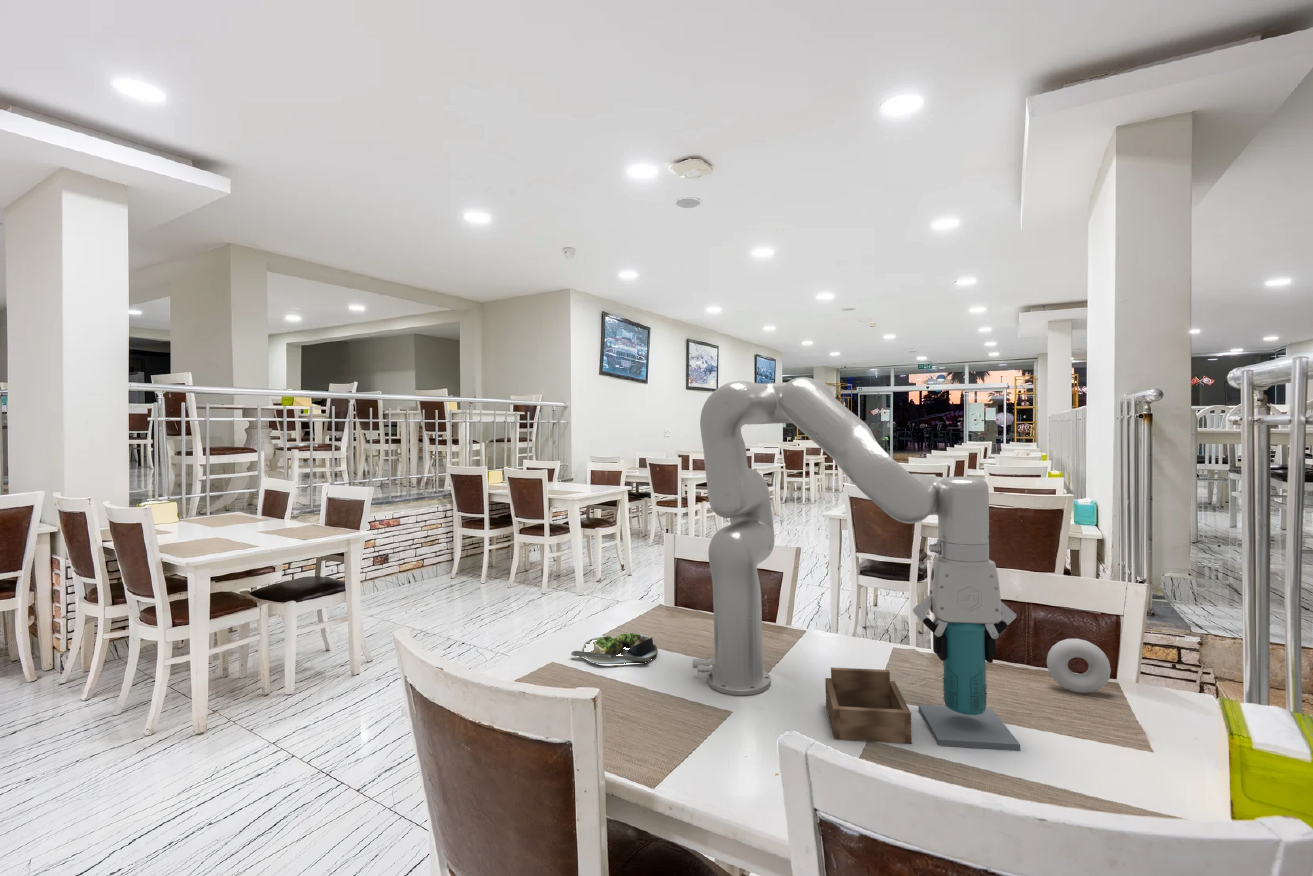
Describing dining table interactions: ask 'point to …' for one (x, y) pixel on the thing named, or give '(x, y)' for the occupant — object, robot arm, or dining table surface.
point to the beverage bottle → (965, 668)
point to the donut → (1072, 681)
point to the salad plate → (620, 649)
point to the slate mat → (967, 729)
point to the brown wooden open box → (866, 706)
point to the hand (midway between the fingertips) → (963, 657)
